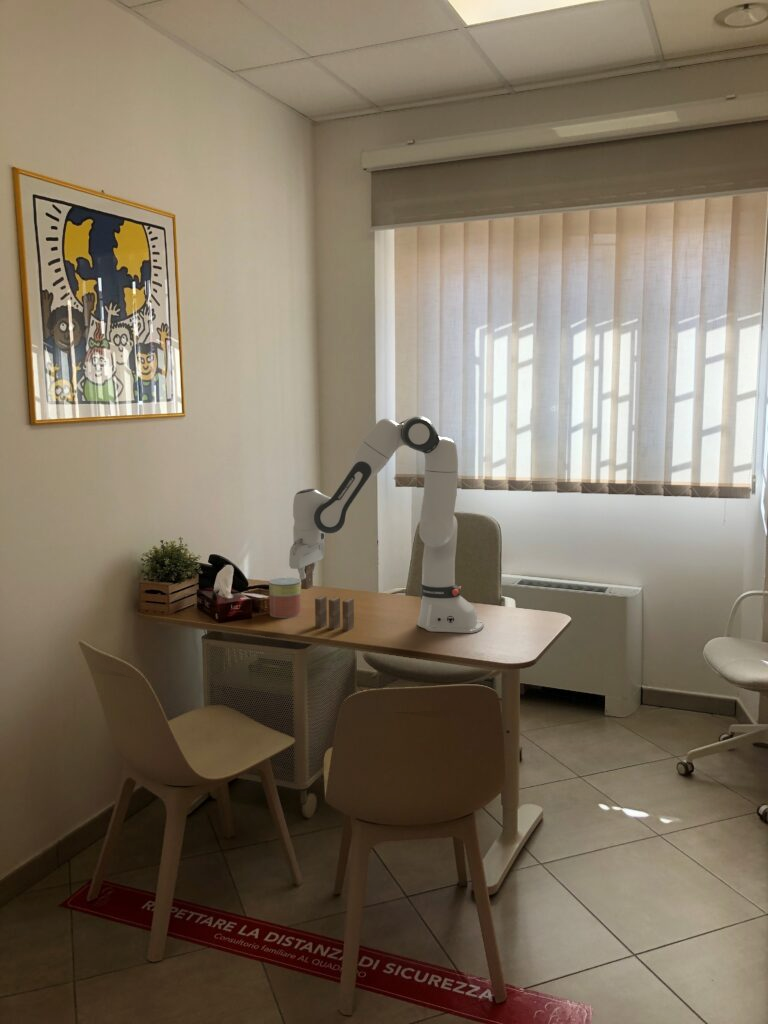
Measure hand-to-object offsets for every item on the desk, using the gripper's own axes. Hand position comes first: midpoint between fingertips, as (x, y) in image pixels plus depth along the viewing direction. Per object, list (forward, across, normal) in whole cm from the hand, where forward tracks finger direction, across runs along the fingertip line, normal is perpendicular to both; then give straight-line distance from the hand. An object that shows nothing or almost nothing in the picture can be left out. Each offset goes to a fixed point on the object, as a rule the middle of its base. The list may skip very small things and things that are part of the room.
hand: (307, 577), depth 292 cm
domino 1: (+4, 0, 0) cm, 4 cm away
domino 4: (+17, 0, -15) cm, 22 cm away
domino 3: (+17, 0, -10) cm, 19 cm away
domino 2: (+17, 0, -5) cm, 17 cm away
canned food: (+17, +11, +14) cm, 24 cm away
